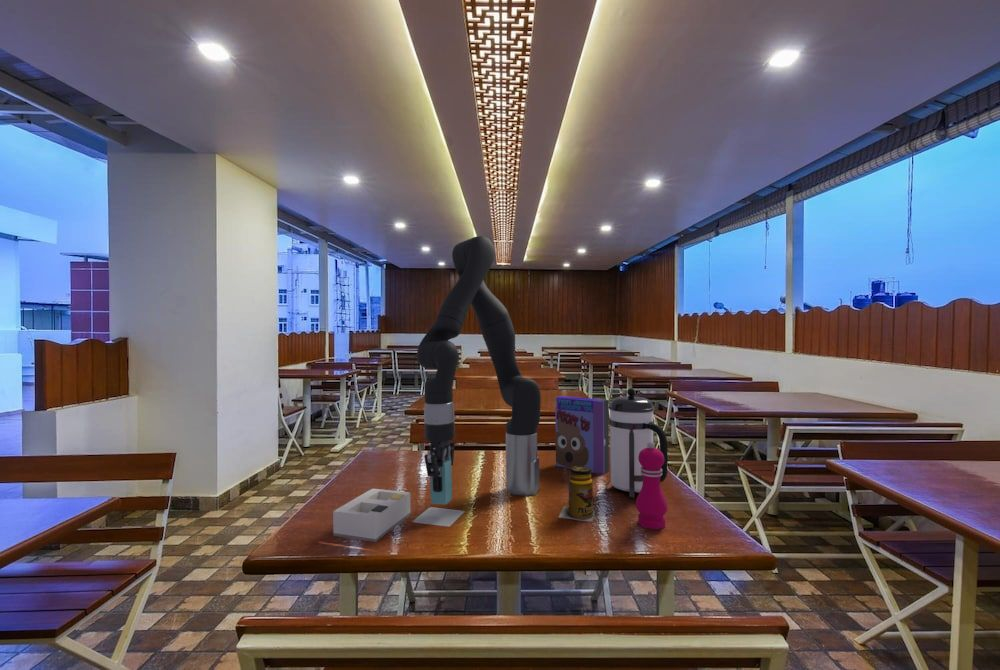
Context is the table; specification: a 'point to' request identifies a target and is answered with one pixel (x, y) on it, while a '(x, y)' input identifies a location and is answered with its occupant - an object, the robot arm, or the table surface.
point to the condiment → (579, 495)
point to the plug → (443, 485)
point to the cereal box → (582, 433)
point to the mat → (439, 516)
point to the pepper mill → (651, 489)
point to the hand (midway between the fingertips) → (441, 487)
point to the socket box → (371, 514)
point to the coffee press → (632, 441)
